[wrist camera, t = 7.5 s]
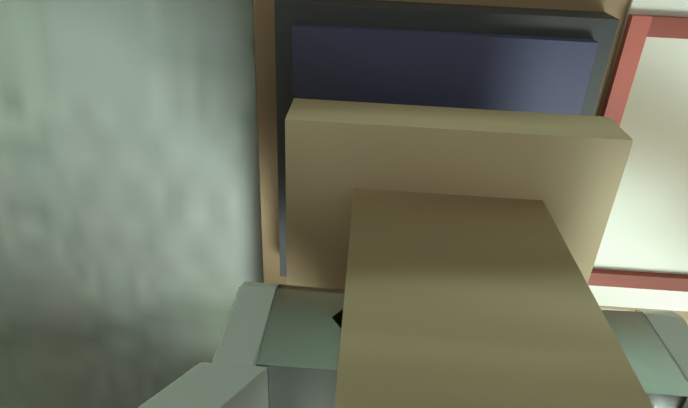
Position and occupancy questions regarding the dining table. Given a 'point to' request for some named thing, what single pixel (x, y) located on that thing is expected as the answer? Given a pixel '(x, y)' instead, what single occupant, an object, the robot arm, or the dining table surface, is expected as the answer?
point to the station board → (502, 102)
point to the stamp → (459, 252)
